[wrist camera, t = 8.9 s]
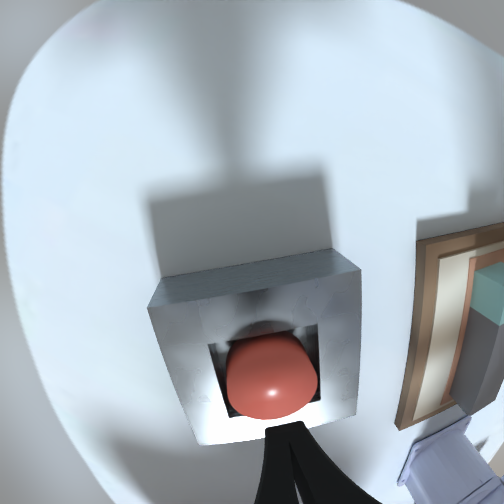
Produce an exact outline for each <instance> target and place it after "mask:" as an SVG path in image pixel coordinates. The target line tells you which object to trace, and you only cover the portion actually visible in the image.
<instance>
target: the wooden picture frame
mask: <svg viewBox="0 0 504 504" xmlns="http://www.w3.org/2000/svg"><path fill="white" fill-rule="evenodd" d="M498 262H503V263H504V222H502V223H498V224H493V225H489V226H484V227H480V228H475V229H471V230H466V231H461V232H457V233H452V234H447V235H443V236H438V237H433V238H428V239H424V240H419V241H416V278H415V295H414V307H413V318H412V328H411V336H410V344H409V351H408V358H407V364H406V370H405V376H404V382H403V387H402V392H401V397H400V402H399V406H398V411H397V415H396V419H395V423H394V424H395V425H396V427H397V428H398V430H399V431H400V430H403V429H405V428H408V427H410V426H412V425H414V424H417V423H419V422H421V421H423V420H425V419H428V418H430V417H432V416H434V415H436V414H438V413H440V412H442V411H444V410H446V409H448V408H450V407H452V406H453V405H455V404H457V403H456V401H455V400H454V399H453V398H452V397H451V396H450V395H449V392H450V389H451V386H452V383H453V379H454V376H455V372H456V368H457V365H458V361H459V357H460V353H461V348H462V344H463V340H464V335H465V330H466V325H467V320H468V314H469V308H470V302H471V295H472V287H473V279H474V271H476V270H479V269H482V268H485V267H487V266H490V265H493V264H496V263H498Z"/></svg>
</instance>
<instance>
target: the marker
mask: <svg viewBox="0 0 504 504" xmlns="http://www.w3.org/2000/svg"><path fill="white" fill-rule="evenodd" d="M503 379H504V263H503V262H498V263H496V264H493V265H490V266H487V267H485V268H482V269H479V270H476V271H474V279H473V287H472V295H471V302H470V308H469V314H468V320H467V325H466V330H465V335H464V340H463V344H462V348H461V353H460V357H459V361H458V365H457V368H456V372H455V376H454V379H453V383H452V386H451V389H450V392H449V395H450V396H451V397H452V398H453V399H454V400H455V401H456V403H457V404H458V405H459V406H460V407H461V408H462V410H463V411H464V412H465V413H466V414H467V415H468V416H471V415H473V414H474V413H476V412H477V411H479V410H481V409H482V408H484V407H485V406H487V405H488V404H490V403H491V402H493V401H494V400H495V399H496V397H497V394H498V392H499V389H500V387H501V384H502V382H503Z"/></svg>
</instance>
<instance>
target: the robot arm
mask: <svg viewBox="0 0 504 504" xmlns="http://www.w3.org/2000/svg"><path fill="white" fill-rule="evenodd" d="M471 418H472V417H471V416H467V417H465V418H464V419H462V420H460V421H458V422H457V423H455V424H453V425H451V426H449V427H447V428H446V429H444V430H442V431H440V432H438V433H436V434H434V435H432V436H430V437H428V438H426V439H424V440H422V441H420V442H417V443H416V444H414V445H413V447H412V449H411V452H410V455H409V457H408V460H407V462H406V465H405V467H404V469H403V472H402V474H401V476H400V478H399V481H398V483H397V486H402V485H404V484H405V485H406V487H407V488H408V490H409V492H410V494H411V496H412V498H413V499H414V501H415V503H416V504H504V475H503V476H502V477H501V478H500V477H498V476H497V475H496V474H495V473H494V471H493V470H492V469H491V468H490V466H489V465H488V464H487V462H486V461H485V460H484V458H483V457H482V456H481V455H480V453H479V452H478V451H477V450H476V448H475V447H474V446H473V445H472V443H471V442H470V441H469V440H468V438H467V437H466V436H465V435H464V433H465V431H466V429H467V427H468V425H469V423H470V421H471ZM264 435H265V449H264V460H263V466H262V473H261V478H260V483H259V487H258V491H257V495H256V499H255V502H254V504H299V502H298V498H297V493H296V488H295V483H296V486H297V488H298V491H299V494H300V496H301V499H302V502H303V504H382V503H380V502H379V501H377V500H376V499H374V498H373V497H372V496H370V495H369V494H368V493H366V492H365V491H364V490H362V489H361V488H360V487H359V486H358V485H356V484H355V483H354V482H353V481H352V480H351V479H350V478H349V477H348V476H346V475H345V474H344V473H343V472H342V471H341V470H340V469H339V468H338V467H337V466H336V465H335V463H334V462H333V461H332V460H331V459H330V458H329V457H328V456H327V454H326V453H325V452H324V451H323V450H322V448H321V447H320V446H319V444H318V443H317V442H316V440H315V439H314V438H313V436H312V435H311V433H310V432H309V430H308V428H307V427H306V425H305V423H304V421H302V420H298V421H294V422H289V423H285V424H280V425H275V426H269V427H266V428H265V429H264ZM294 480H295V482H294Z"/></svg>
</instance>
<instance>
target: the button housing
mask: <svg viewBox="0 0 504 504" xmlns="http://www.w3.org/2000/svg"><path fill="white" fill-rule="evenodd" d="M147 309H148V313H149V316H150V319H151V322H152V325H153V329H154V332H155V335H156V338H157V341H158V344H159V347H160V349H161V352H162V355H163V358H164V361H165V364H166V366H167V369H168V372H169V374H170V377H171V380H172V382H173V385H174V387H175V390H176V393H177V395H178V398H179V400H180V402H181V405H182V407H183V410H184V412H185V414H186V417H187V419H188V421H189V424H190V426H191V428H192V431H193V433H194V435H195V437H196V439H197V442H198V444H199V446H202V445H213V444H222V443H230V442H238V441H245V440H251V439H257V438H263V437H265V435H264V429H265V428H266V427H269V426H275V425H280V424H285V423H289V422H294V421H298V420H302V421H304V423H305V425H306V427H307V428H311V427H315V426H319V425H322V424H326V423H330V422H333V421H337V420H340V419H344V418H347V417H350V416H354V415H356V408H357V398H358V385H359V371H360V351H361V315H362V289H361V269H360V268H359V267H357V266H356V265H355V264H353V263H352V262H351V261H349V260H348V259H347V258H345V257H344V256H342V255H341V254H340V253H338V252H337V251H336V250H334V249H333V248H332V249H327V250H321V251H316V252H310V253H305V254H299V255H293V256H288V257H282V258H276V259H271V260H265V261H259V262H254V263H248V264H242V265H237V266H231V267H225V268H219V269H213V270H208V271H202V272H196V273H190V274H184V275H178V276H172V277H166V278H161V280H160V282H159V284H158V286H157V288H156V290H155V292H154V294H153V296H152V298H151V300H150V303H149V305H148V307H147ZM280 331H288V332H290V333H292V334H293V335H295V336H296V337H297V338H298V339H299V340H300V341H301V343H302V345H303V346H304V349H305V351H306V353H307V355H308V357H309V359H310V361H311V364H312V366H313V368H314V370H315V372H316V375H317V380H318V382H317V389H316V392H315V394H314V396H313V397H312V399H311V400H310V401H309V403H308V404H307V405H306V406H304V407H303V408H302V409H301V410H299V411H298V412H296V413H294V414H292V415H290V416H287V417H284V418H280V419H276V420H256V419H252V418H249V417H246V416H244V415H242V414H240V413H239V412H238V411H236V410H235V409H234V408H233V406H232V405H231V403H230V401H229V399H228V394H227V378H226V357H227V354H228V352H229V350H230V348H231V347H232V345H233V344H234V343H235V342H236V341H237V340H238V339H242V338H248V337H254V336H259V335H265V334H270V333H275V332H280Z"/></svg>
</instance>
